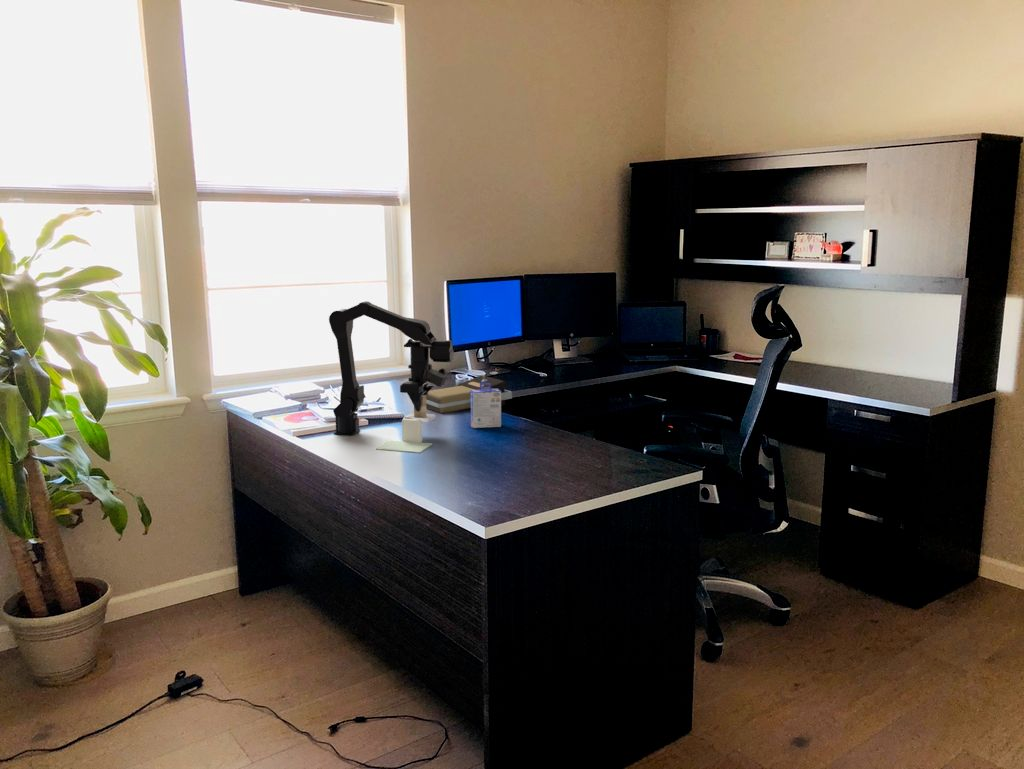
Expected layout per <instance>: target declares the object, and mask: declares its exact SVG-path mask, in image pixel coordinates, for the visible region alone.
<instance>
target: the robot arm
mask: <svg viewBox="0 0 1024 769" xmlns="http://www.w3.org/2000/svg"><path fill="white" fill-rule="evenodd" d="M330 313H331V314H330V315H328V316H329V317H328V322H329V325H330V329H331V332H332V333H333V336H334V337H335V339H336V344H337V351H338V360H339V366H340V374H341V381H342V385H341V389H340V399H339V400H340V401H339V404H338V405H337V406H336V407H335V408H334V409H333V411H332V412H333V413H334V417H335V431H334V432H333V434H334V435H344V436H353V435H355V434H357V433H358V432H361V429H360V419H359V417H358V413H357V412H358V411H359V407H361V406H362V405H363V403H364V401H365V399H366V397H367V396H366V394H365V385H363V384H362V385H360V383H359V382H358V380H357V373H356V366H355V358H354V357H355V356H354V351H353V344H352V342H353V341H352V333H353V328H354V320H356V319H359V318H361V317H362V316H366V317H368V318H370V319H373V320H375V321H377V322H380V323H383V324H385V325H388V326H390V327H392V328H395V329H396V330H399V331H400V332H401V333H403V335H405V336H406V337H408V338H409V339H408V340H407V342H406V343H404V345H403V347H404V348H410V351H409V352H410V363H409V364H408V365H407V367H408V369H410V377H408V381H405V382H403V383H402V384H400V387H399V392H400V393H403V394H407V395H408V397H409V399H410V401H411V402H412V404H413V408H414V407H415V409H416V411H420V408H421V401H422V395H426V399H427V395H428V392H429V391H432V389H433V388H434V387H435V386H436V387H438V388H439V387H442V386H445V383H446V381H447V379H449V378H448V373H447V369H445V368H440V369H433V366H432V364H431V363H430V359H431V360H432V362H434V363H453V361H454V349H453V343H452V342H453V341H452V340H437V338H436V337H435V335H434V334H433V332H432V331H431V326H430V324H429V323H428V322H427V321H425V320H422V319H418V318H414V317H413V318H411V317H407V316H402V315H400V314H398V313H395V312H393V311H391V310H388V309H385V308H383V307H381V306H378V305H376V304H373V303H371V302H370V301H367V300H366V301H362V302H359V303H357V305H355V306H352V307H350V308H347V309H346V308H340V309H337V310H334V311H333V312H330ZM430 383H431V384H433V385H431V384H430ZM434 385H435V386H434Z"/></svg>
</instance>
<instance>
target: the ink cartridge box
mask: <svg viewBox="0 0 1024 769" xmlns="http://www.w3.org/2000/svg"><path fill="white" fill-rule="evenodd" d="M482 385H489V387H482ZM470 394H471V408H470V426H471V428H472V429H480V428H501V427H502V405H501V391H500V390H499V389H491V385H490V383H480V390H470Z"/></svg>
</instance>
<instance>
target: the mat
mask: <svg viewBox="0 0 1024 769" xmlns="http://www.w3.org/2000/svg"><path fill="white" fill-rule="evenodd" d="M432 445H433V443H431V442H430V443H429V442H421V443H418V442H406V441H402V440H393V439H392V440H391V439H389V440H386V441H385V442H384V443H382V444H380V445H379V446H378V447H376V450H379V451H391V452H402V453H403V452H404V453H413V454H414V453H415V454H421V453H422V452H424V451H425V450H426V449H428V448H429V447H431V446H432Z"/></svg>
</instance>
